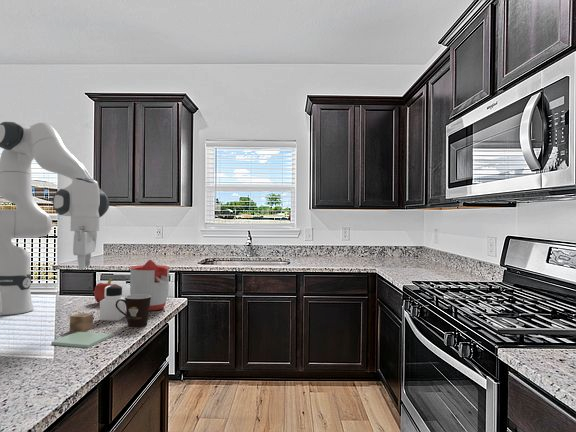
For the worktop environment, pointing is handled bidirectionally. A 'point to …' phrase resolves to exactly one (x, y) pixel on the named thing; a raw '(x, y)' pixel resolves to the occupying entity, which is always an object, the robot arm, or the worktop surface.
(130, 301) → the coffee mug
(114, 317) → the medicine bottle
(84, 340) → the plate
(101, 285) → the vegetable
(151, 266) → the citrus juicer
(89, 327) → the walnut cube
